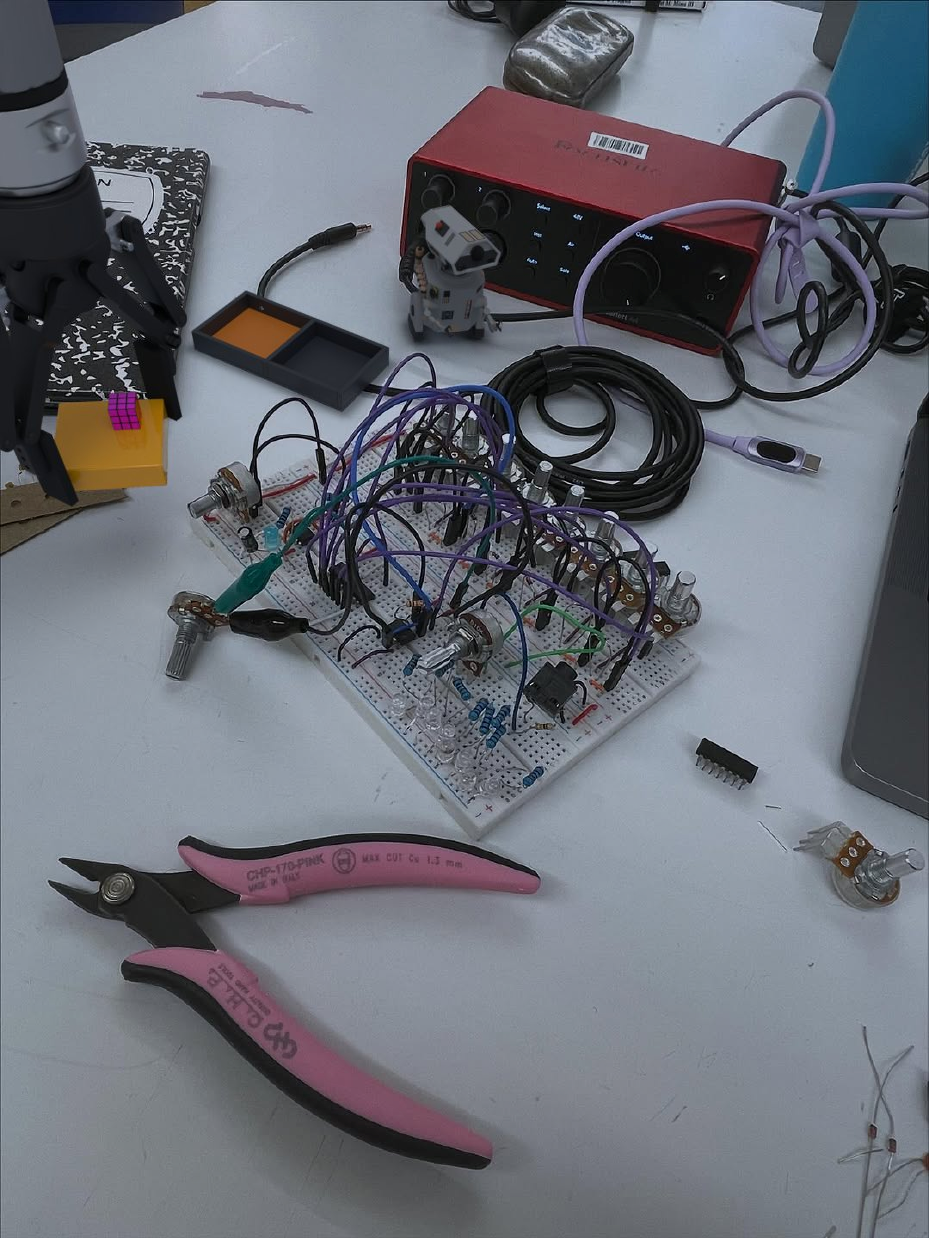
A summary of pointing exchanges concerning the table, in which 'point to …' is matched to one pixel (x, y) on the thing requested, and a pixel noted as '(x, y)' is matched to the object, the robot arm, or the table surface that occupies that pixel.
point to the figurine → (452, 276)
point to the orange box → (114, 442)
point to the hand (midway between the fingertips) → (116, 453)
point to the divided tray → (292, 349)
